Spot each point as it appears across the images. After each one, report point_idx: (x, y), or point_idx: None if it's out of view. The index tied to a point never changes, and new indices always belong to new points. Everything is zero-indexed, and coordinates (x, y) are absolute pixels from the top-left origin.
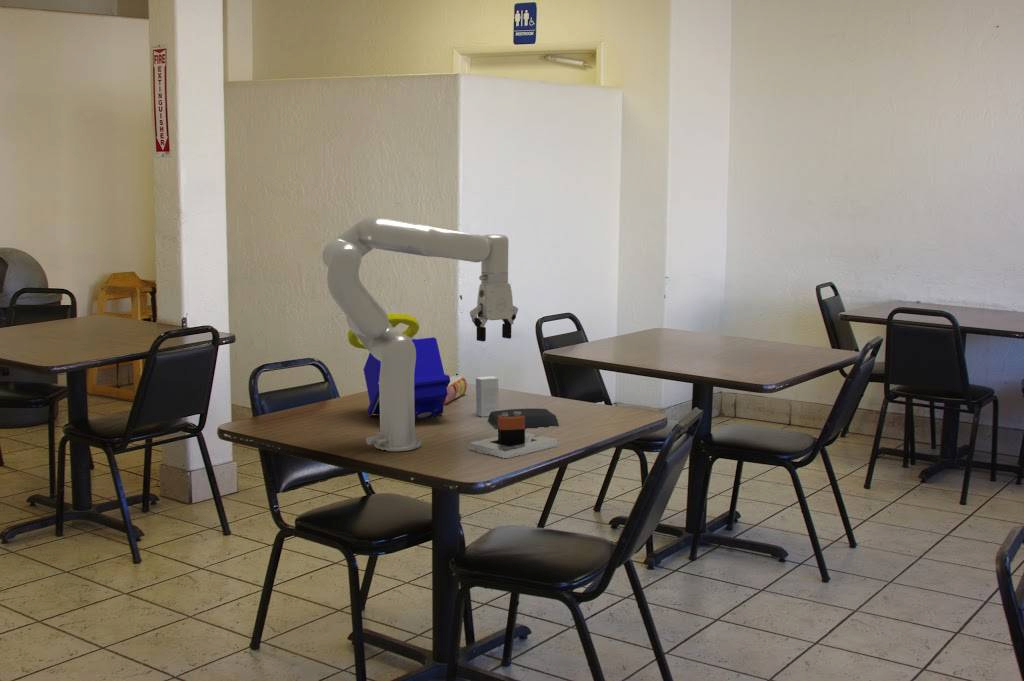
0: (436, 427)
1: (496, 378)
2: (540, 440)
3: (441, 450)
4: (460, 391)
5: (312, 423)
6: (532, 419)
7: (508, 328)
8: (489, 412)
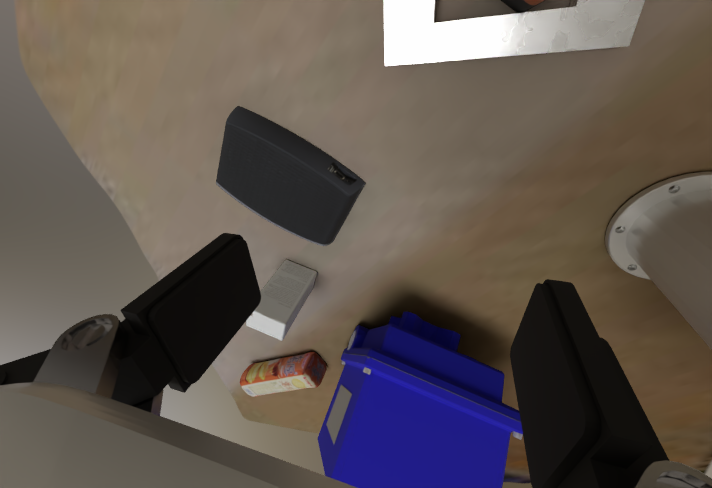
0: (437, 280)
1: None
2: None
3: (665, 110)
4: (263, 365)
5: None
6: (284, 142)
7: (185, 299)
8: (300, 269)
